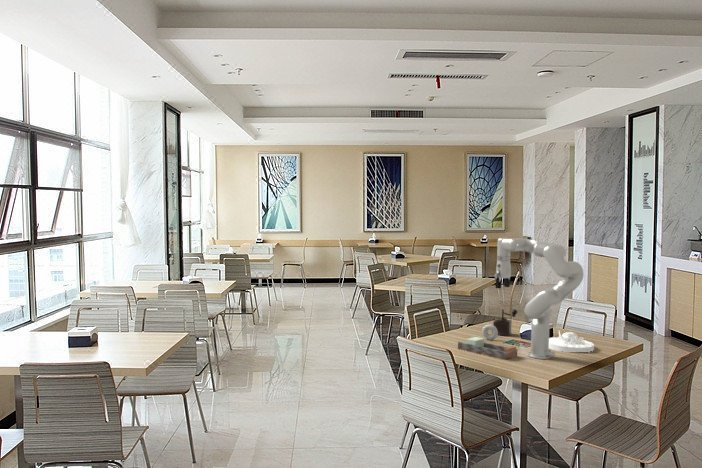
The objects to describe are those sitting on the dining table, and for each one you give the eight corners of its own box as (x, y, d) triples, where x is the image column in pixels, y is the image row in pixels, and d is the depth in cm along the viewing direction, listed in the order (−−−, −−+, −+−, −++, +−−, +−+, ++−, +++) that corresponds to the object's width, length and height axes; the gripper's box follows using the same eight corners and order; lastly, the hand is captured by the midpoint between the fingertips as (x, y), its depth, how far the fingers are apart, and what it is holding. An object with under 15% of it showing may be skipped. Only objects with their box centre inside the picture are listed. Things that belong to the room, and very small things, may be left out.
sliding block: (483, 347, 326) (484, 338, 326) (475, 349, 320) (475, 340, 320) (475, 345, 331) (475, 336, 331) (466, 347, 325) (466, 338, 325)
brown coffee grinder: (492, 335, 368) (493, 308, 368) (495, 331, 378) (496, 305, 377) (516, 337, 361) (517, 310, 361) (519, 334, 371) (520, 307, 370)
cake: (604, 351, 329) (605, 335, 329) (568, 355, 318) (568, 338, 318) (569, 341, 355) (569, 326, 355) (534, 344, 344) (535, 329, 344)
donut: (481, 339, 354) (481, 323, 354) (482, 338, 357) (482, 322, 357) (496, 341, 349) (497, 325, 349) (498, 340, 352) (498, 324, 352)
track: (517, 356, 312) (517, 346, 312) (505, 359, 304) (505, 350, 304) (469, 345, 336) (470, 336, 335) (457, 348, 328) (458, 339, 327)
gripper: (501, 260, 320) (500, 289, 321) (516, 258, 332) (515, 287, 333) (490, 258, 325) (489, 288, 326) (505, 257, 337) (504, 285, 338)
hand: (502, 287), depth 329 cm, fingers open, 9 cm apart
